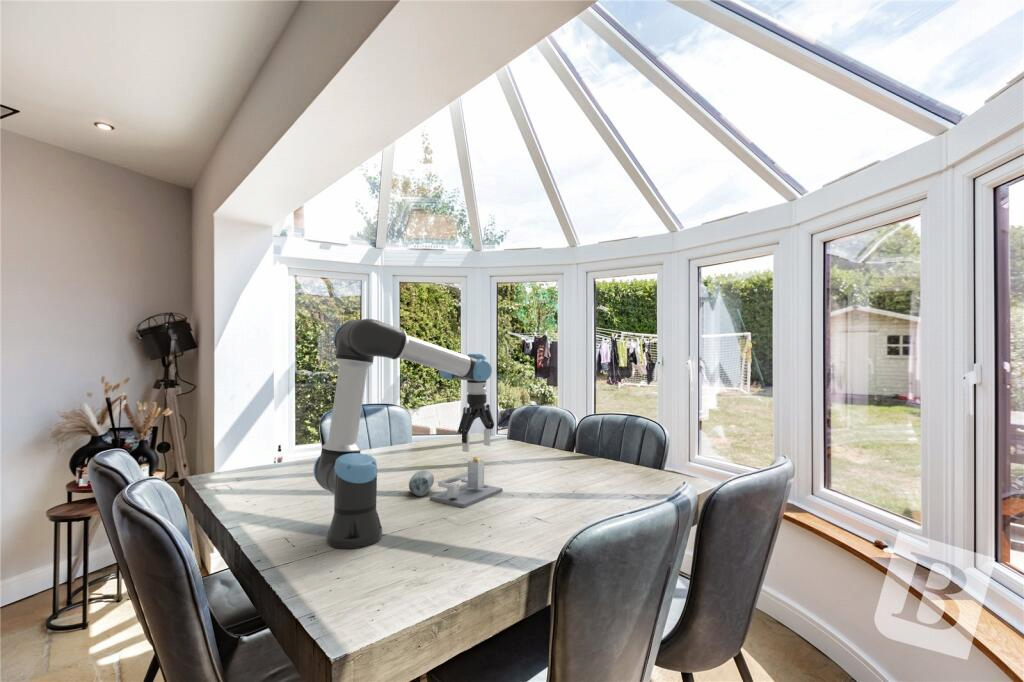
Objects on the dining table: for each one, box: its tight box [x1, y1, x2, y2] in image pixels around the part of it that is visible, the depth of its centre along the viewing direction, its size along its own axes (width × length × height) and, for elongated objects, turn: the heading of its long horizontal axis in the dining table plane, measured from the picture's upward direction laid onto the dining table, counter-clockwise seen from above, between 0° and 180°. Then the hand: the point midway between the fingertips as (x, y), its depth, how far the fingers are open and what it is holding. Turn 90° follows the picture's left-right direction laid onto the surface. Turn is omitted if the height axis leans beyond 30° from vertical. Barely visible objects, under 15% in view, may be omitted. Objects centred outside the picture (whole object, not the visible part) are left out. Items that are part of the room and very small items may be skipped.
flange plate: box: [429, 483, 503, 509], centre depth 179 cm, size 24×16×1 cm, turn 147°
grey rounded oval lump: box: [408, 469, 435, 497], centre depth 182 cm, size 14×10×10 cm
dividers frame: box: [437, 471, 468, 499], centre depth 180 cm, size 24×9×5 cm, turn 147°
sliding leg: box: [460, 456, 485, 490], centre depth 183 cm, size 4×9×12 cm, turn 57°
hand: (476, 448), depth 182 cm, fingers open, 13 cm apart
